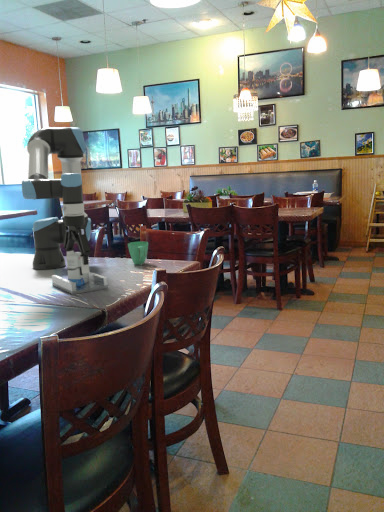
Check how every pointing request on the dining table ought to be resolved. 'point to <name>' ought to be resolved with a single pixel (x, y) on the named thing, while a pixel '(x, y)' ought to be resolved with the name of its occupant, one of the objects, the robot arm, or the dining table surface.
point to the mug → (138, 251)
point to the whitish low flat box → (94, 284)
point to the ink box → (76, 269)
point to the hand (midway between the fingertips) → (78, 270)
